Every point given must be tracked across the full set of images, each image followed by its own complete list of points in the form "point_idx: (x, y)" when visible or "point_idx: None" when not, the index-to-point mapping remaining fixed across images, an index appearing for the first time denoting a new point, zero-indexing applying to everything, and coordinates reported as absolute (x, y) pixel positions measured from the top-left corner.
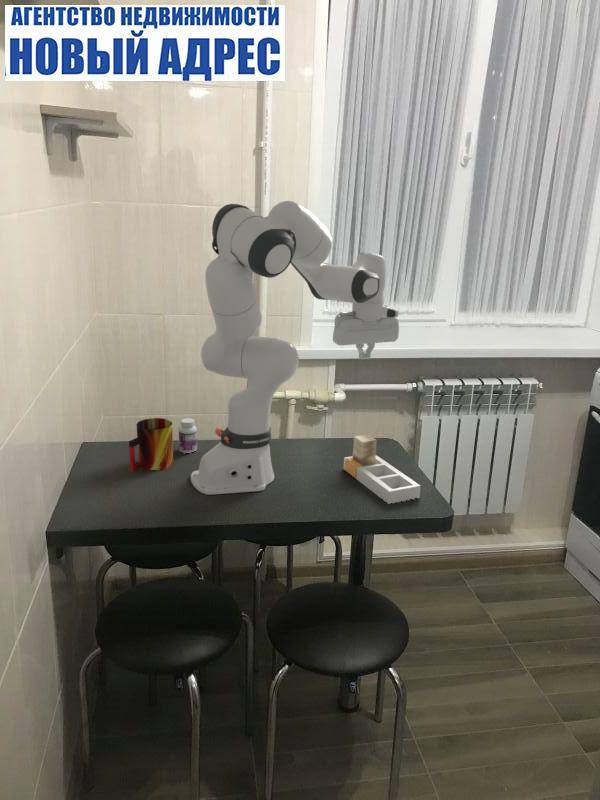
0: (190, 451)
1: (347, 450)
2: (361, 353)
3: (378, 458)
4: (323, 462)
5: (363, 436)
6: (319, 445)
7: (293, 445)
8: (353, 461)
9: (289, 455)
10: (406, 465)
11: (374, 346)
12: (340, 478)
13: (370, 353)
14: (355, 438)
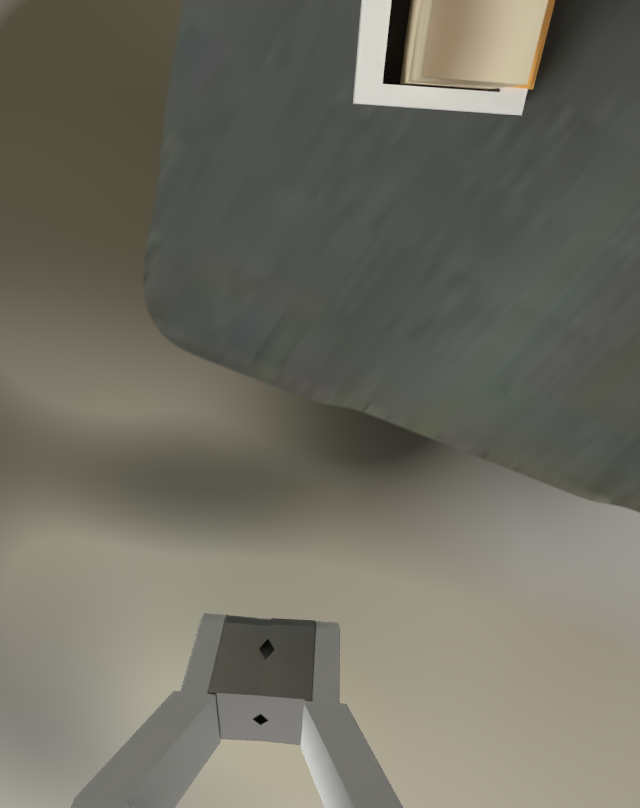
0: None
1: (357, 289)
2: (337, 703)
3: (374, 10)
4: (525, 221)
5: (475, 53)
6: (423, 372)
7: (505, 407)
8: None
9: (585, 338)
10: (205, 6)
11: (76, 803)
12: (597, 8)
13: (190, 674)
14: (531, 60)
